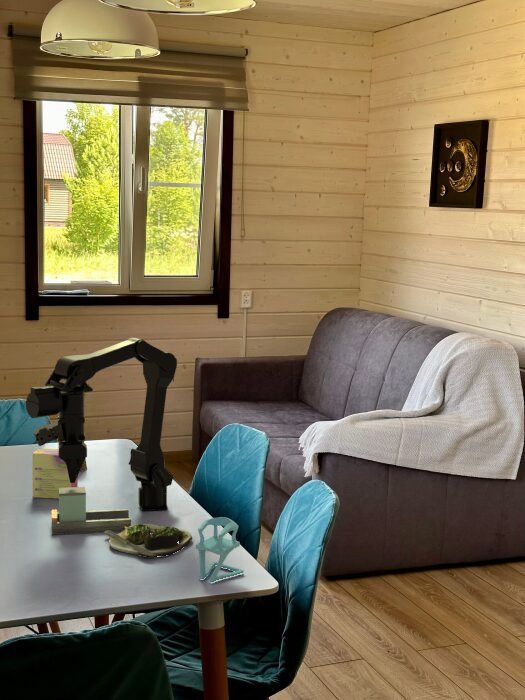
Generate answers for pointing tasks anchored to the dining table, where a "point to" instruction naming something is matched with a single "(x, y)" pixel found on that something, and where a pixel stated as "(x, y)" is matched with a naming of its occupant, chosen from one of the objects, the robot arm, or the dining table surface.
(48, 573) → the dining table surface
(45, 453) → the box
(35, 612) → the dining table surface
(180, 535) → the salad plate
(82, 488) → the module
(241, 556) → the dining table surface
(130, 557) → the dining table surface
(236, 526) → the chair
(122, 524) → the rail
